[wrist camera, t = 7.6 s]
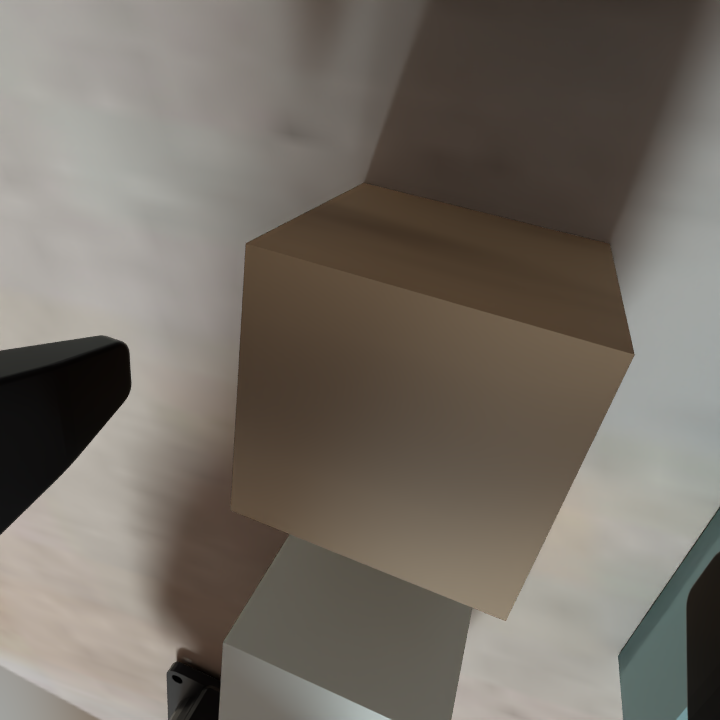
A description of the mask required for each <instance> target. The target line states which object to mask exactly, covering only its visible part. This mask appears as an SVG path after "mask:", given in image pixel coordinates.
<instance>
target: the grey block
mask: <svg viewBox="0 0 720 720" xmlns="http://www.w3.org/2000/svg"><path fill="white" fill-rule="evenodd" d="M471 612H472V607H469V606H467V605H464V604H462V603H459V602H457V601H454V600H452V599H449V598H447V597H444V596H442V595H439V594H437V593H434V592H432V591H429V590H427V589H425V588H422V587H420V586H417V585H415V584H412V583H410V582H407V581H405V580H402V579H400V578H397V577H395V576H392V575H390V574H387V573H385V572H382V571H380V570H377V569H375V568H372V567H370V566H367V565H365V564H362V563H360V562H357V561H355V560H352V559H350V558H347V557H345V556H342V555H340V554H337V553H335V552H332V551H330V550H328V549H325V548H323V547H320V546H318V545H315V544H313V543H310V542H308V541H305V540H303V539H300V538H298V537H295V536H293V535H290V534H289V536H288V538H287V539H286V541H285V543H284V544H283V546H282V547H281V549H280V551H279V552H278V554H277V555H276V557H275V559H274V560H273V562H272V564H271V565H270V567H269V568H268V570H267V572H266V573H265V575H264V577H263V578H262V580H261V581H260V583H259V585H258V586H257V588H256V590H255V591H254V593H253V594H252V596H251V598H250V599H249V601H248V603H247V604H246V606H245V607H244V609H243V611H242V612H241V614H240V616H239V617H238V619H237V620H236V622H235V624H234V625H233V627H232V628H231V630H230V632H229V633H228V635H227V637H226V638H225V640H224V641H223V652H222V669H221V686H220V703H219V720H451V718H452V713H453V707H454V702H455V697H456V691H457V686H458V681H459V675H460V670H461V665H462V659H463V654H464V649H465V643H466V638H467V633H468V628H469V622H470V617H471Z"/></svg>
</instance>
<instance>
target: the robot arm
mask: <svg viewBox="0 0 720 720" xmlns="http://www.w3.org/2000/svg"><path fill="white" fill-rule="evenodd" d="M130 390H131V370H130V353H129V349H128V346H127V345H126V344H125V343H124V342H122V341H119V340H116V339H113V338H111V337H108V336H102V335H101V336H93V337H87V338H80V339H74V340H67V341H61V342H54V343H47V344H41V345H34V346H28V347H21V348H15V349H8V350H1V351H0V535H1V534H2V533H3V532H4V531H5V530H6V529H7V528H8V527H9V526H10V525H11V524H12V523H13V522H14V521H15V520H16V519H17V518H18V517H19V516H20V515H21V514H22V513H23V512H24V511H25V510H26V509H27V508H28V507H29V506H30V505H31V504H32V503H33V502H34V501H35V500H36V499H37V498H39V497H40V496H41V495H42V494H43V493H44V492H45V491H46V490H47V489H48V488H49V487H50V486H51V485H52V484H53V483H54V482H55V481H56V480H57V479H58V478H59V477H60V476H61V475H62V474H63V473H64V472H65V471H66V470H67V469H68V468H69V466H70V465H71V464H72V463H73V462H74V461H75V460H76V459H77V457H78V456H79V455H80V454H81V453H82V452H83V450H84V449H85V448H86V447H87V446H88V444H89V443H90V442H91V441H92V440H93V438H94V437H95V436H96V435H97V434H98V432H99V431H100V430H101V429H102V428H103V426H104V425H105V424H106V423H107V422H108V421H109V419H110V418H111V417H112V416H113V415H114V413H115V412H116V411H117V410H118V409H119V407H120V406H121V405H122V404H123V403H124V401H125V400H126V399H127V397H128V395H129V393H130ZM686 658H687V716H688V720H720V551H719V552H718V553H716V555H715V556H714V557H713V558H712V559H711V561H710V562H709V564H708V565H707V566H706V568H705V569H704V571H703V572H702V573H701V575H700V576H699V578H698V579H697V580H696V582H695V583H694V584H693V586H692V587H691V589H690V591H689V594H688V597H687V602H686ZM220 686H221V681H219V680H217V679H215V678H213V677H211V676H208V675H206V674H204V673H202V672H200V671H198V670H196V669H194V668H192V667H190V666H187V665H185V664H183V663H180V662H175V663H173V665H172V666H171V668H170V669H169V670H168V672H167V698H168V720H219V703H220Z"/></svg>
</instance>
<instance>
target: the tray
mask: <svg viewBox="0 0 720 720" xmlns="http://www.w3.org/2000/svg"><path fill="white" fill-rule="evenodd" d="M719 551H720V509H719V510H718V511H717V513H716V514H715V516H714V517H713V519H712V520H711V522H710V523H709V525H708V526H707V527H706V529H705V530H704V532H703V533H702V535H701V536H700V538H699V539H698V541H697V542H696V543H695V545H694V546H693V548H692V549H691V551H690V552H689V554H688V555H687V557H686V558H685V559H684V561H683V562H682V564H681V565H680V567H679V568H678V570H677V571H676V573H675V574H674V575H673V577H672V578H671V580H670V581H669V583H668V584H667V586H666V587H665V589H664V590H663V591H662V593H661V594H660V596H659V597H658V599H657V600H656V602H655V603H654V605H653V606H652V607H651V609H650V610H649V612H648V613H647V615H646V616H645V618H644V619H643V621H642V622H641V623H640V625H639V626H638V628H637V629H636V631H635V632H634V634H633V635H632V637H631V638H630V639H629V641H628V642H627V644H626V645H625V647H624V648H623V650H622V651H621V653H620V654H619V655H618V660H619V673H620V685H621V698H622V710H623V720H688V716H687V658H686V602H687V597H688V594H689V591H690V589H691V587H692V586H693V584H694V583H695V582H696V580H697V579H698V578H699V576H700V575H701V573H702V572H703V571H704V569H705V568H706V566H707V565H708V564H709V562H710V561H711V559H712V558H713V557H714V556H715V555H716V553H718V552H719Z"/></svg>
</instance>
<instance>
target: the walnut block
mask: <svg viewBox="0 0 720 720" xmlns="http://www.w3.org/2000/svg"><path fill="white" fill-rule="evenodd" d="M634 355H635V354H634V350H633V345H632V341H631V336H630V332H629V328H628V323H627V319H626V314H625V310H624V305H623V301H622V296H621V292H620V287H619V283H618V278H617V274H616V269H615V265H614V260H613V256H612V251H611V247H610V244H608V243H604V242H600V241H596V240H592V239H588V238H584V237H580V236H576V235H572V234H568V233H564V232H560V231H556V230H552V229H548V228H544V227H540V226H536V225H532V224H528V223H524V222H520V221H516V220H512V219H508V218H504V217H500V216H496V215H492V214H488V213H483V212H479V211H475V210H471V209H467V208H463V207H459V206H455V205H451V204H447V203H443V202H439V201H435V200H431V199H427V198H423V197H419V196H415V195H411V194H407V193H403V192H399V191H395V190H391V189H387V188H383V187H379V186H375V185H371V184H367V183H362V184H361V185H359V186H357V187H355V188H353V189H351V190H349V191H347V192H345V193H343V194H341V195H339V196H337V197H335V198H333V199H331V200H329V201H327V202H326V203H324V204H322V205H320V206H318V207H316V208H314V209H312V210H310V211H308V212H306V213H304V214H302V215H300V216H298V217H296V218H294V219H292V220H290V221H289V222H287V223H285V224H283V225H281V226H279V227H277V228H275V229H273V230H271V231H269V232H267V233H265V234H263V235H261V236H259V237H257V238H255V239H254V240H252V241H250V242H248V243H246V249H245V266H244V283H243V301H242V318H241V335H240V352H239V369H238V387H237V404H236V421H235V438H234V455H233V473H232V490H231V507H230V510H231V511H233V512H235V513H238V514H240V515H243V516H245V517H248V518H250V519H253V520H255V521H258V522H260V523H263V524H265V525H268V526H270V527H273V528H275V529H278V530H280V531H283V532H285V533H288V534H290V535H293V536H295V537H298V538H300V539H303V540H305V541H308V542H310V543H313V544H315V545H318V546H320V547H323V548H325V549H328V550H330V551H332V552H335V553H337V554H340V555H342V556H345V557H347V558H350V559H352V560H355V561H357V562H360V563H362V564H365V565H367V566H370V567H372V568H375V569H377V570H380V571H382V572H385V573H387V574H390V575H392V576H395V577H397V578H400V579H402V580H405V581H407V582H410V583H412V584H415V585H417V586H420V587H422V588H425V589H427V590H429V591H432V592H434V593H437V594H439V595H442V596H444V597H447V598H449V599H452V600H454V601H457V602H459V603H462V604H464V605H467V606H469V607H472V608H474V609H477V610H479V611H482V612H484V613H487V614H489V615H492V616H494V617H497V618H499V619H502V620H504V621H506V620H507V618H508V616H509V613H510V611H511V609H512V607H513V605H514V603H515V601H516V599H517V597H518V595H519V593H520V591H521V589H522V587H523V585H524V582H525V580H526V578H527V576H528V574H529V572H530V570H531V568H532V566H533V564H534V562H535V560H536V558H537V556H538V553H539V551H540V549H541V547H542V545H543V543H544V541H545V539H546V537H547V535H548V533H549V531H550V529H551V527H552V525H553V522H554V520H555V518H556V516H557V514H558V512H559V510H560V508H561V506H562V504H563V502H564V500H565V498H566V496H567V494H568V491H569V489H570V487H571V485H572V483H573V481H574V479H575V477H576V475H577V473H578V471H579V469H580V467H581V465H582V462H583V460H584V458H585V456H586V454H587V452H588V450H589V448H590V446H591V444H592V442H593V440H594V438H595V436H596V434H597V431H598V429H599V427H600V425H601V423H602V421H603V419H604V417H605V415H606V413H607V411H608V409H609V407H610V405H611V402H612V400H613V398H614V396H615V394H616V392H617V390H618V388H619V386H620V384H621V382H622V380H623V378H624V376H625V374H626V371H627V369H628V367H629V365H630V363H631V361H632V359H633V357H634Z"/></svg>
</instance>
